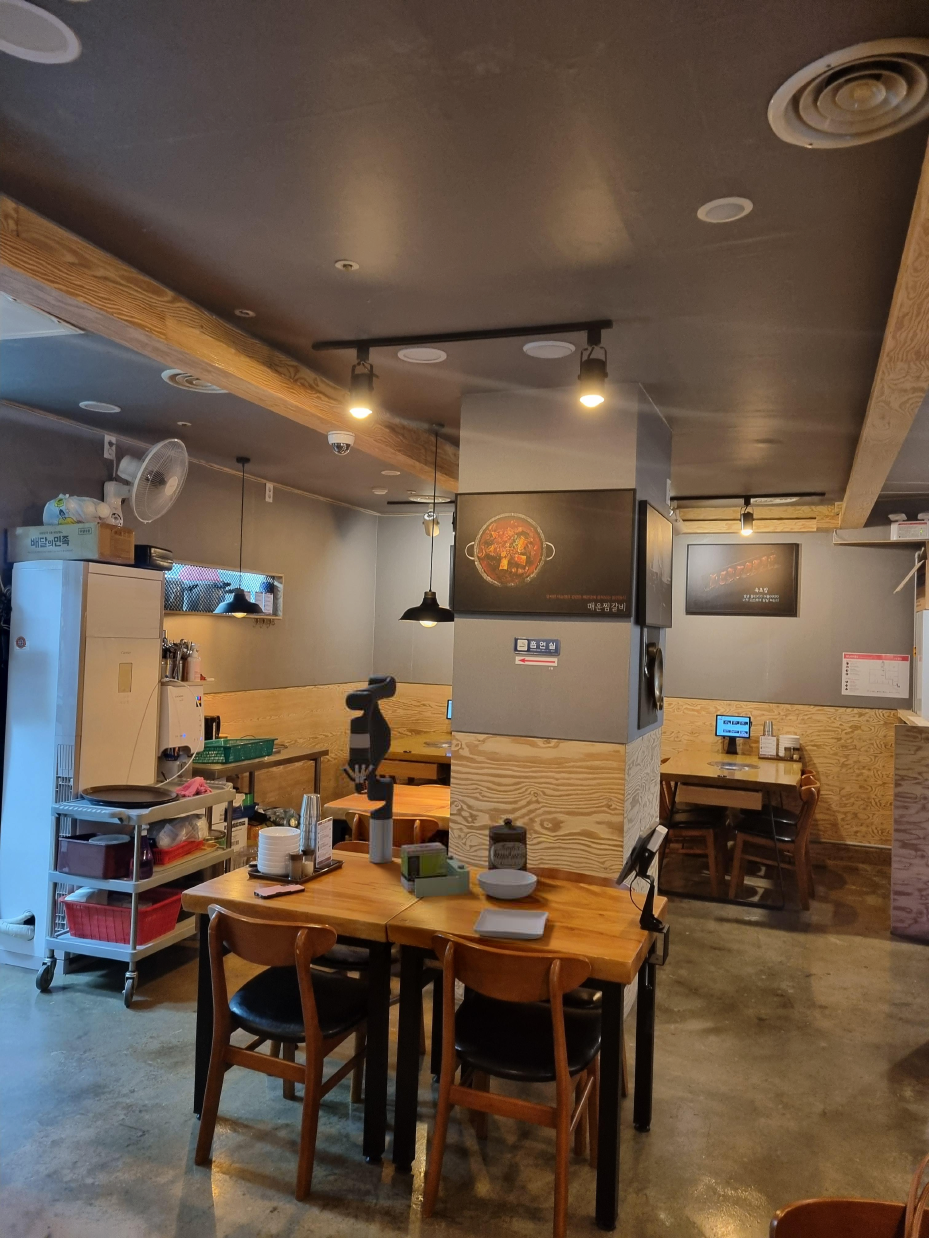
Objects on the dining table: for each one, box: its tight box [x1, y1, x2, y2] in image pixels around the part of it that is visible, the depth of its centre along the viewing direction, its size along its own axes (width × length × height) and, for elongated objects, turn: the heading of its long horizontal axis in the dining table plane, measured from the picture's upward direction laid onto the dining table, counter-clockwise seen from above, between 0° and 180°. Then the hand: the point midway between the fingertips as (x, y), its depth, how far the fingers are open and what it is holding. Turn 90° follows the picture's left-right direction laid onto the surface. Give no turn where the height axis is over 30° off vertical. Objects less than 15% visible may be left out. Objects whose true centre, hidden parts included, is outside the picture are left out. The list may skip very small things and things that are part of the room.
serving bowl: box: [477, 869, 538, 900], centre depth 299 cm, size 21×21×7 cm
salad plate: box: [472, 908, 549, 940], centre depth 263 cm, size 21×21×3 cm
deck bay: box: [414, 854, 471, 898], centre depth 308 cm, size 22×20×9 cm
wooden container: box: [487, 817, 528, 872], centre depth 325 cm, size 15×15×22 cm
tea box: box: [400, 842, 448, 892], centre depth 309 cm, size 15×10×15 cm
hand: (358, 792), depth 313 cm, fingers closed
